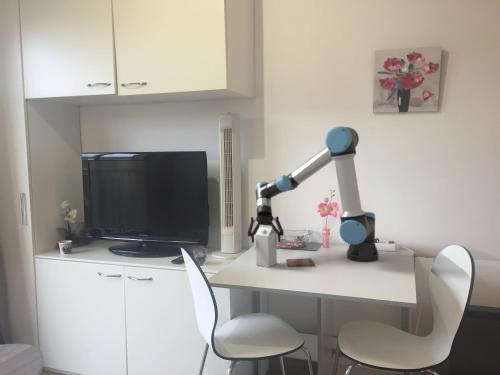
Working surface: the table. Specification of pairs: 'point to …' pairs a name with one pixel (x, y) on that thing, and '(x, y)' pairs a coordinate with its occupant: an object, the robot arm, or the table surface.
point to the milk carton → (266, 246)
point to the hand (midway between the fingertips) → (266, 247)
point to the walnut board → (300, 262)
